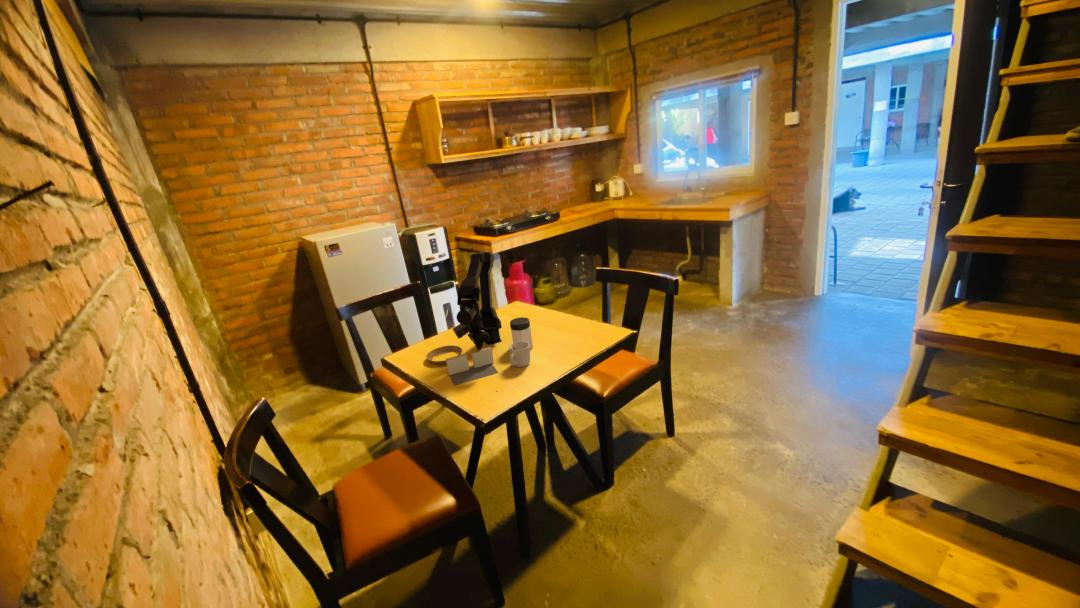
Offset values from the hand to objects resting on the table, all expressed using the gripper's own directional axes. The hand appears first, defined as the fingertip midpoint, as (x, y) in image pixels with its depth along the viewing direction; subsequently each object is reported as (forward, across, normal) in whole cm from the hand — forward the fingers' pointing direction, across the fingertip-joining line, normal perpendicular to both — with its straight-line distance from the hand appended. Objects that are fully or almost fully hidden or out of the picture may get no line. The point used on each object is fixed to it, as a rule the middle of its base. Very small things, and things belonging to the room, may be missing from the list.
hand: (479, 351), depth 180 cm
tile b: (+4, +4, -10) cm, 12 cm away
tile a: (+4, +4, 0) cm, 6 cm away
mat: (+5, +8, -5) cm, 10 cm away
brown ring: (+5, -12, -12) cm, 18 cm away
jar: (+5, -3, +19) cm, 20 cm away
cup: (+5, +12, +12) cm, 18 cm away
